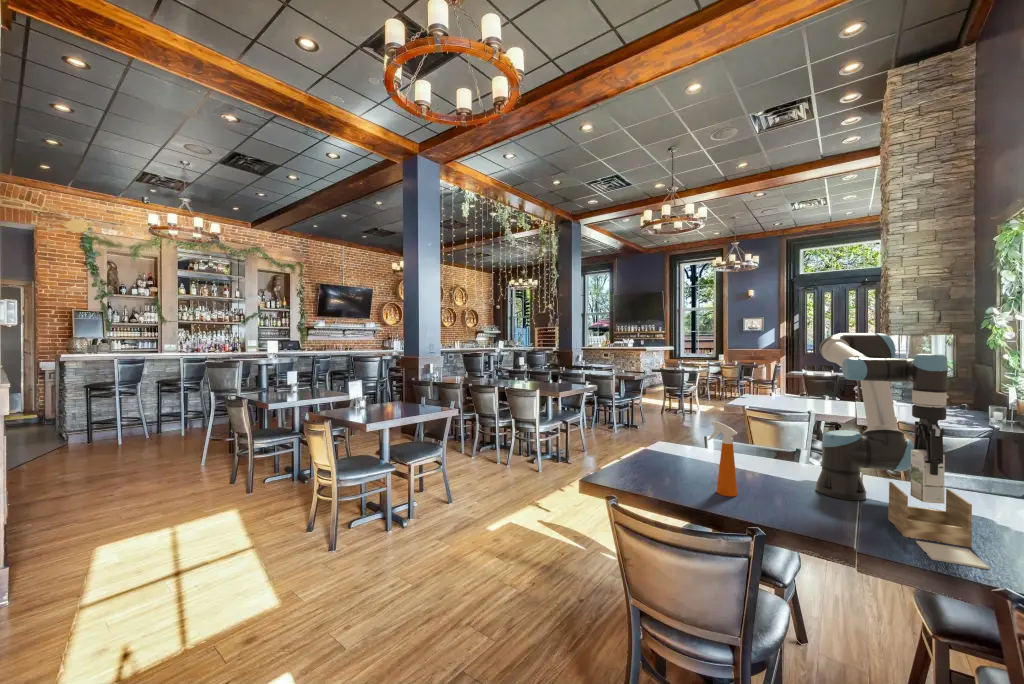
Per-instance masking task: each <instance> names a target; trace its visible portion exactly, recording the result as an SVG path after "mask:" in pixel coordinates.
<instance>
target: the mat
mask: <svg viewBox="0 0 1024 684" xmlns="http://www.w3.org/2000/svg"><path fill="white" fill-rule="evenodd" d="M915 542H916V544H917V545H918V546H919V547H920V549H922V551H924V553H925V552H926V553H927V554H926V553H925V554H926V555H927V556H928V557H929V558H930V559H931V560H934V561H939V562H944V563H950V564H957V565H962V566H966V567H967V566H968V567H973V568H978V569H984V570H985V569H986V570H990V566H989V565H987V564H986V563H984V562H985V561H983V560H982V559H980V557H978V556H977V555H976V554H974V552H972V551H971V550H970V548H964V547H957V546H952V545H945V544H940V543H933V542H929V541H928V542H927V541H922V540H921V541H920V540H915Z"/></svg>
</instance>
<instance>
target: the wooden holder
mask: <svg viewBox="0 0 1024 684" xmlns="http://www.w3.org/2000/svg"><path fill="white" fill-rule="evenodd" d="M908 499H909V496H908V495H907V494H906V493H905V492H904V491H903V490H902V489H900V488H899V487H898V486H897V485H896V484H895V483H893V481H889V482H888V503H887V504H888V505H887V506H888V507H887V509H888V510H887V516H888V517H887V519H888V521H890V522H891V524H892V523H893V524H894V525H895V526H894V525H893V524H892V525H893V526H894V527H895V528H896V530H897V531H898V532H899V533H900V532H901V533H900V534H901V535H902V536H903V537H904V538H909V537H910V538H911V539H917V540H922V539H923V540H924V541H928V540H930V541H931V542H934V541H937V542H936V543H940V542H942V544H949V545H954V546H959V547H960V546H961V547H965V548H972V547H973V545H972V544H973V543H972V540H973V538H972V537H973V530H972V527H973V525H972V523H973V522H972V521H973V520H972V518H973V517H972V516H973V514H972V513H973V512H972V511H973V504H972V503H970V502H969V501H967V499H964V498H963V497H962V496H960V495H959V494H957V493H956V492H954V491H952V490H951V489H950V488H946V489H945V510H939V509H934V508H933V509H932V508H926V507H918V506H910V505H909V504H908V503H909V500H908ZM923 540H922V541H923ZM930 541H929V542H930Z"/></svg>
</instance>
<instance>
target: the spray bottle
mask: <svg viewBox="0 0 1024 684" xmlns="http://www.w3.org/2000/svg"><path fill="white" fill-rule="evenodd" d="M711 425H713V426H714V427H713V429H714V430H713V432H712V434H711V435H710V436H709V437H708V438H707V439H706V440H707V441H710V440H712V439H714V438H715V437H716V436H717V435H719V434H723V435H722V436H723V437H722V442H721V450H720V459H719V468H718V477H717V482H716V483H717V484H716V493H717V494H718V495H720V496H724V497H731V498H732V497H737V496H738V487H737V484H738V483H737V474H736V464H735V461H736V460H735V453H734V444H733V443H734V437H733V436H735V435H737V434H738V431H736V430H735V429H733V428H732V427H730V426H728V425H726V424H724V423H722V422H719V421H713V420H712V421H711Z"/></svg>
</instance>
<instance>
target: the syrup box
mask: <svg viewBox="0 0 1024 684" xmlns="http://www.w3.org/2000/svg"><path fill="white" fill-rule="evenodd" d="M945 457H946V456H945V454H943V464H939V486H932V485H926V463H925V461H928V458H927V450H911V468H910V497H911V496H912V497H913V498H915V499H917V500H919V501H921V502H922V503H928V504H929V503H931V504H945V470H946V469H945V466H946V465H945V463H946V461H945V459H946V458H945Z"/></svg>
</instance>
